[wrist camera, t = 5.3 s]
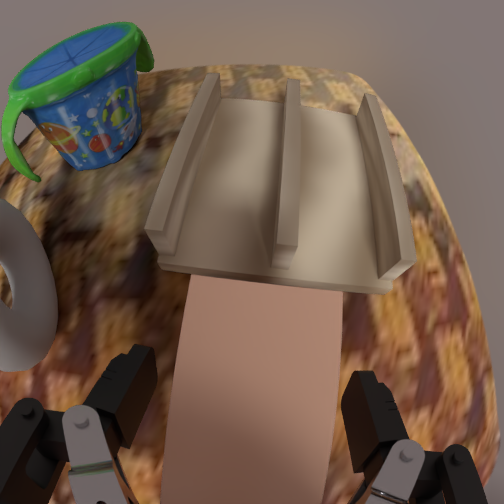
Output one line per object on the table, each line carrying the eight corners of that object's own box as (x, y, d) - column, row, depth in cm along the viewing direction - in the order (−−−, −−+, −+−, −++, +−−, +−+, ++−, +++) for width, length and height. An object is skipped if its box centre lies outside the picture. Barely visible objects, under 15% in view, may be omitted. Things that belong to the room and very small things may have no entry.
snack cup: (126, 88, 26) (106, 13, 17) (200, 105, 24) (190, 9, 15) (23, 188, 20) (-31, 114, 11) (81, 233, 18) (4, 135, 9)
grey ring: (29, 252, 17) (-51, 178, 8) (61, 238, 18) (-17, 149, 9) (42, 382, 13) (-77, 357, 4) (80, 374, 14) (-47, 346, 5)
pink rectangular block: (206, 454, 13) (158, 543, 3) (221, 337, 16) (191, 274, 6) (270, 461, 12) (307, 557, 3) (284, 344, 15) (342, 291, 6)
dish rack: (162, 269, 17) (141, 237, 13) (211, 107, 24) (209, 70, 20) (384, 294, 17) (417, 270, 13) (361, 127, 24) (374, 92, 20)
